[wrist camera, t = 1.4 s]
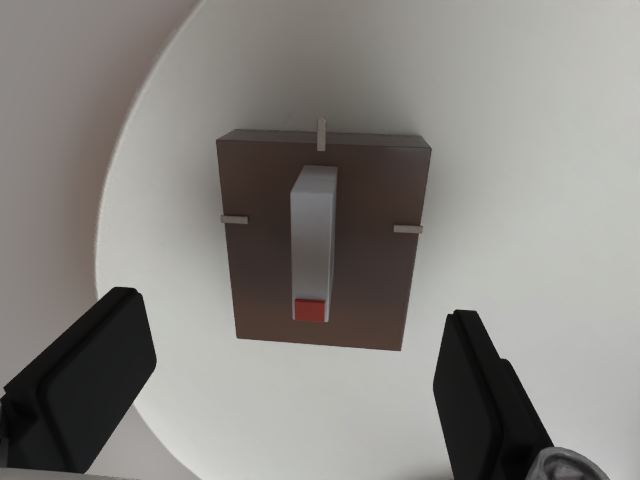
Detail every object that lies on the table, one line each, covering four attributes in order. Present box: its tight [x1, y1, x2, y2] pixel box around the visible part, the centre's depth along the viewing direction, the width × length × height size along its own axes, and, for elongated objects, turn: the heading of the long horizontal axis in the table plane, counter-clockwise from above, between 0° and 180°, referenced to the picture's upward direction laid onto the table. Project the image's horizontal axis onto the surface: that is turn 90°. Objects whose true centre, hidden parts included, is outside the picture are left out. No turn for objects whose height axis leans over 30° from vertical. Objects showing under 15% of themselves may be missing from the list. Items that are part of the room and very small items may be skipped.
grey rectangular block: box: [290, 165, 338, 322], centre depth 17 cm, size 6×2×4 cm, turn 179°
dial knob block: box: [216, 119, 432, 351], centre depth 20 cm, size 13×10×3 cm
